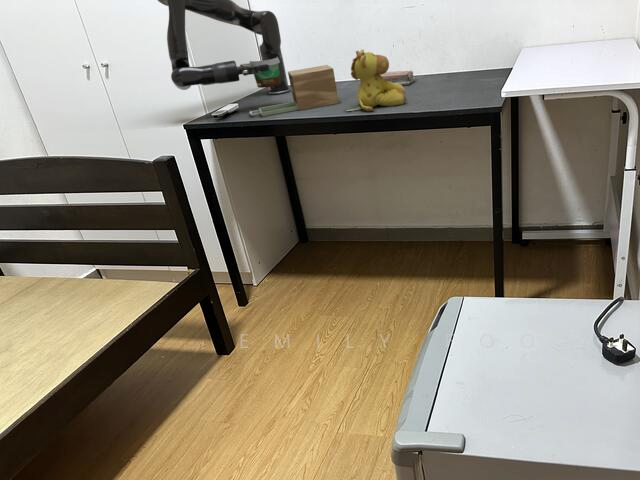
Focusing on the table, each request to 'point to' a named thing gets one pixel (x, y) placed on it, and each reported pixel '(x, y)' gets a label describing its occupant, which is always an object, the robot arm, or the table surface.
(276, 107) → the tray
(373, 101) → the giraffe plush
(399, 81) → the packaged product
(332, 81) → the wooden block
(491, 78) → the table surface
